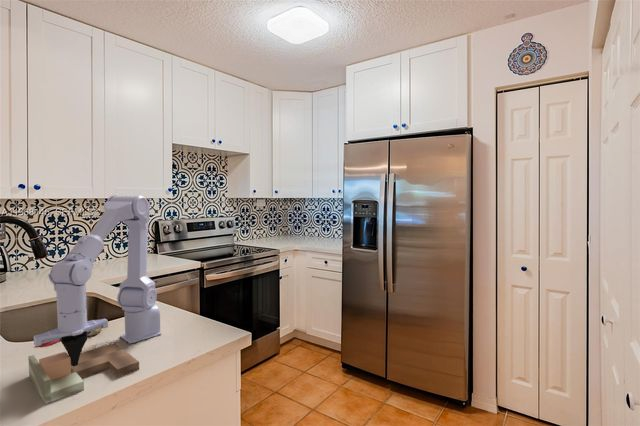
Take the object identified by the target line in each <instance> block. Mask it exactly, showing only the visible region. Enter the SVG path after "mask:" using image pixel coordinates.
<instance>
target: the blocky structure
mask: <svg viewBox="0 0 640 426" xmlns="http://www.w3.org/2000/svg"><path fill="white" fill-rule="evenodd" d="M27 360H28V374H29V375H28V376H29V378H30V380H31V382H32V384H33V386H34V387H35V388H36V390H37V392H38V393H39V396H40V397H41V399H42V400H43V402H44V404H45V405H47V404H48V403H52V402H54V401H58V400H60V399H62V398H66V397H68V396H72V395H74V394H77V393H79V392H82V391H84V390H85V381H84V379H83V378H86V377H89V376H92V375H95V374H98V373H101V372H103V371H106V370H109V371H110V372H112V373H113V374H114V375H115V376H116V377H117V378H120V377H123V376H125V375H128V374H131V373H133V372H136V371H138V370H140V361H139V360H138V359H136V357H134V356H132V355H131V354H130V353H129V352H127V351H126V350H125V349H124V348H122V347H121V346H120V345H118V343H116V342H113V343H109V344H107V345H103V346H99V347H96V348H92V349H89V350H86V351H83V352H82V351H81V354H80V357H79V361H78V365H76V366H72V365H71V374H69V375H66V376H63V377H60V378H57V379H54V380H51V381H50V378H49V377H48V375H47V374H46V372H45V371H44V369H43V368H42V366H41V365H40V363H39V360H38V359H37V357H36V356H35V355H34V354H31V355H29V356H28V357H27Z"/></svg>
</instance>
